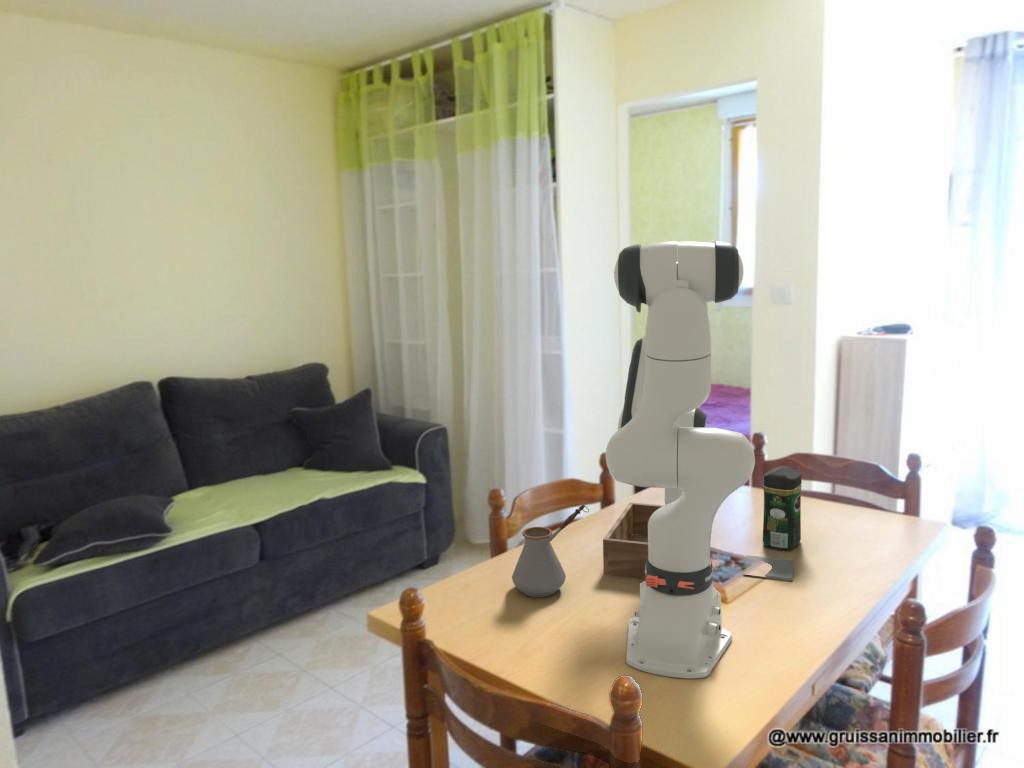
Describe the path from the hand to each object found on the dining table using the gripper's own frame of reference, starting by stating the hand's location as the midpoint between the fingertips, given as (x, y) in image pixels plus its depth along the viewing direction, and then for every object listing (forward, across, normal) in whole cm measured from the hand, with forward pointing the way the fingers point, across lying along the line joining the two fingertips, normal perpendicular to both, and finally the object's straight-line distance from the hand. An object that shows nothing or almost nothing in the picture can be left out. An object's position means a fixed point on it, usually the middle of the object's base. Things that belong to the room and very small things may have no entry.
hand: (680, 513), depth 167 cm
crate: (+11, 0, +8) cm, 13 cm away
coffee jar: (+11, +16, -21) cm, 29 cm away
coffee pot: (+11, -20, +24) cm, 33 cm away
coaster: (+11, 0, -19) cm, 22 cm away
